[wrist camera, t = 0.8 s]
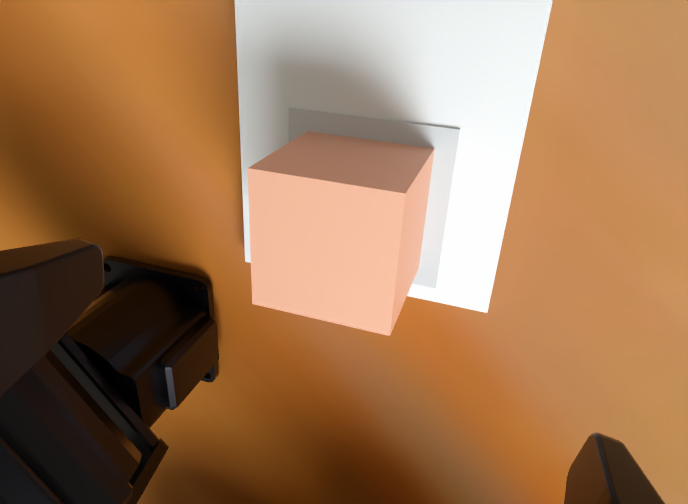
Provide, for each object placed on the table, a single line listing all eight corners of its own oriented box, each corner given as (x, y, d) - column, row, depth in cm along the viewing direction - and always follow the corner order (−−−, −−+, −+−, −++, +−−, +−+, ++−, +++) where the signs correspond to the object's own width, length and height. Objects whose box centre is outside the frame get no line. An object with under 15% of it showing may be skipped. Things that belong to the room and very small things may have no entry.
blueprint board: (253, 254, 25) (244, 262, 24) (234, -332, 16) (218, -349, 15) (488, 302, 22) (487, 314, 22) (629, -374, 13) (635, -397, 12)
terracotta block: (305, 245, 23) (252, 303, 19) (307, 131, 21) (247, 168, 16) (418, 267, 22) (389, 335, 17) (434, 148, 19) (405, 193, 15)
